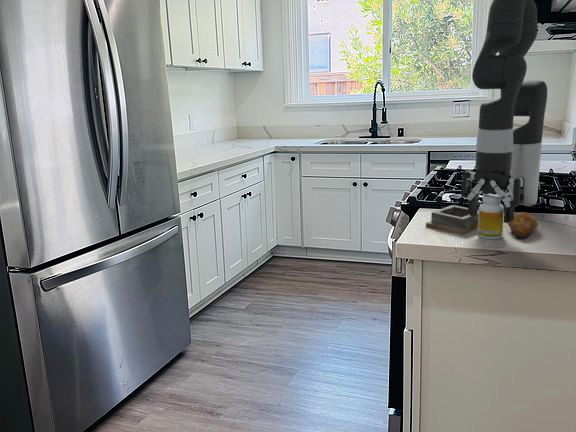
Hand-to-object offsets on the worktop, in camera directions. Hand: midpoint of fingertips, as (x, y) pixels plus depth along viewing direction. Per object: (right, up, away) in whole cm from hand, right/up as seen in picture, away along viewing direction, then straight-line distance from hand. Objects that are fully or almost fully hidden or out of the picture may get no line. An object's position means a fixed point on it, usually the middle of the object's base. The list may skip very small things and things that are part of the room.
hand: (489, 218), depth 119 cm
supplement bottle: (+1, -4, +1) cm, 5 cm away
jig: (-4, -2, +10) cm, 11 cm away
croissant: (+9, -3, +3) cm, 10 cm away
